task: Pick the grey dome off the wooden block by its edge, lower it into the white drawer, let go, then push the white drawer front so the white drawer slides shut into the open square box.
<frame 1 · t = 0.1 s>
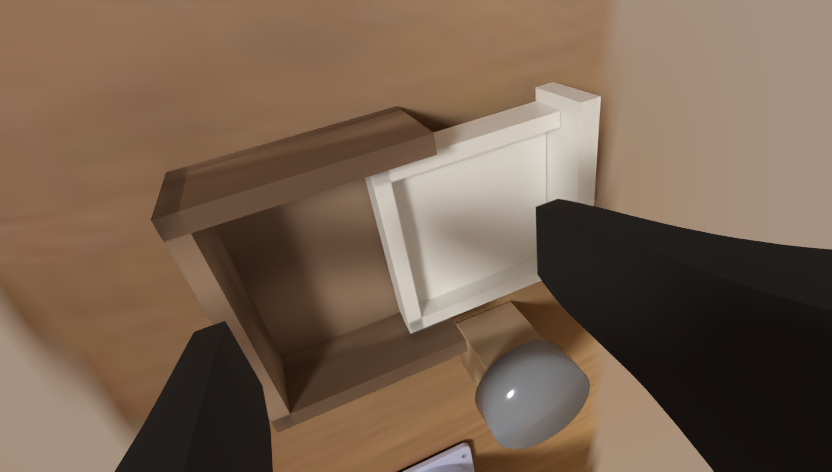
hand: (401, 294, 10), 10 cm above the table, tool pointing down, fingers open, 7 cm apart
white drawer: (493, 221, 20), point 2 cm above the table, slide at 6.0 cm
wooden block: (486, 333, 27), on the table
open square box: (335, 247, 20), on the table
grey dome: (521, 381, 24), point 4 cm above the table, touching wooden block
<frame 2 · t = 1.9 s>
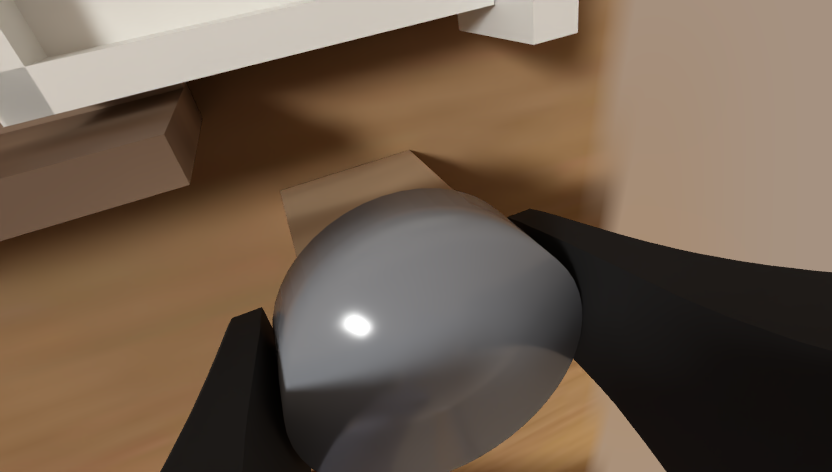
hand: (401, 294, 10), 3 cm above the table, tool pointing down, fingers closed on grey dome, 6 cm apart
wooden block: (362, 226, 13), on the table
grey dome: (410, 310, 9), point 4 cm above the table, touching gripper, wooden block
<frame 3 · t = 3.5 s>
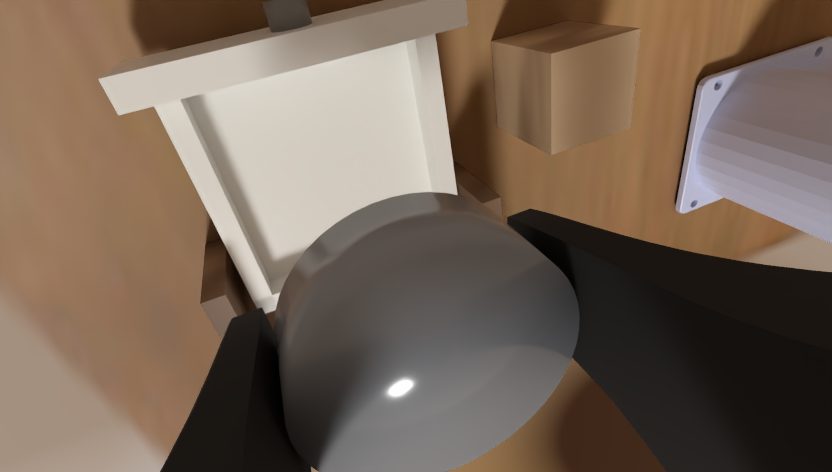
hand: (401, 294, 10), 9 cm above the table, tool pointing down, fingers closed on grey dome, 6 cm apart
white drawer: (331, 159, 15), point 2 cm above the table, slide at 6.0 cm
wooden block: (531, 75, 19), on the table
open square box: (362, 276, 21), on the table
grey dome: (409, 312, 9), point 10 cm above the table, touching gripper
when the fingers open (3 cm above the table, at t = 5.0 s): grey dome drops 2 cm, resting on white drawer.
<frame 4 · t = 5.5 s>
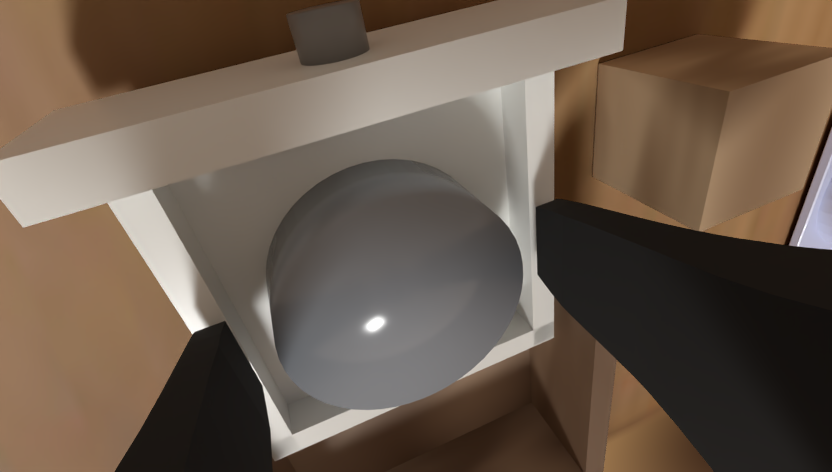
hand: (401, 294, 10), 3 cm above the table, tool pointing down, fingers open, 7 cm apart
white drawer: (384, 248, 10), point 2 cm above the table, slide at 6.0 cm, touching grey dome
wooden block: (642, 108, 14), on the table
open square box: (405, 371, 16), on the table
grey dome: (382, 265, 11), point 2 cm above the table, touching white drawer
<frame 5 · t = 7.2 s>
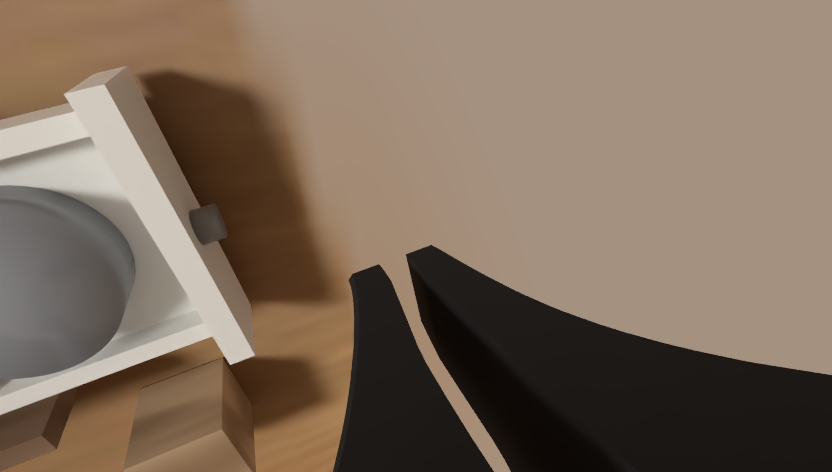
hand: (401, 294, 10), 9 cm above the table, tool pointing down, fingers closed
white drawer: (58, 269, 14), point 2 cm above the table, slide at 6.0 cm, touching grey dome
wooden block: (199, 397, 21), on the table
grey dome: (32, 267, 14), point 2 cm above the table, touching white drawer
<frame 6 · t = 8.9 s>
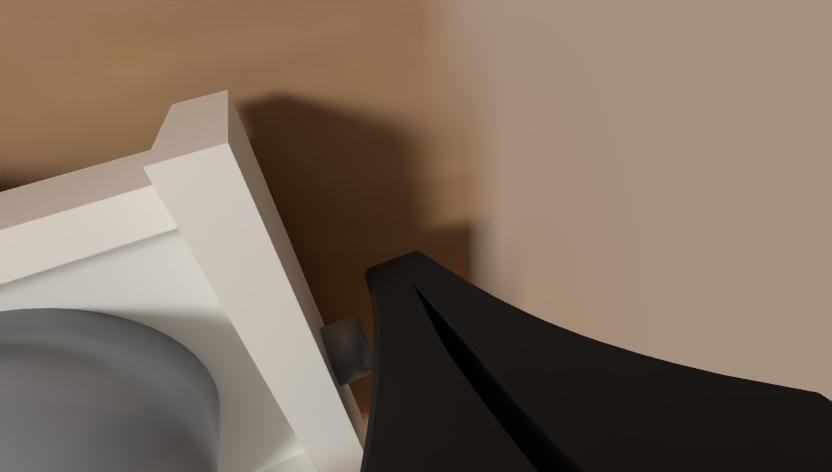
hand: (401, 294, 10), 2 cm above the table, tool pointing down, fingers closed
white drawer: (103, 440, 8), point 2 cm above the table, slide at 5.2 cm, touching grey dome, gripper
grey dome: (57, 429, 8), point 2 cm above the table, touching white drawer
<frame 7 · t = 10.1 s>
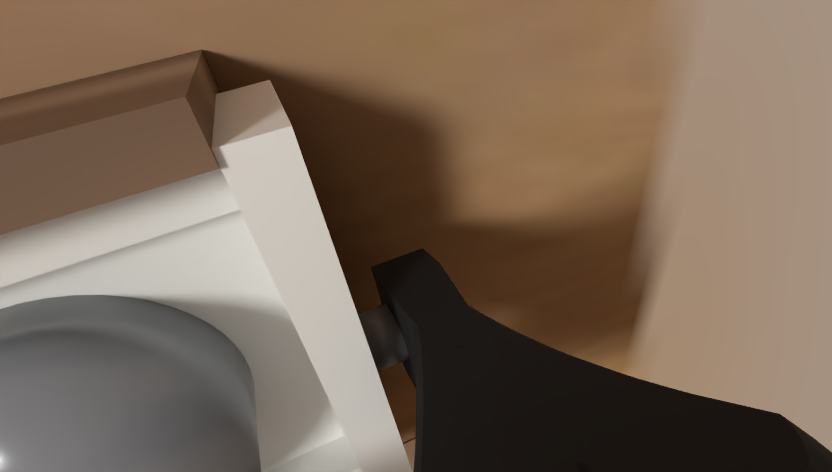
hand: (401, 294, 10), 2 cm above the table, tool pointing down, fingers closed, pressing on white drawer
white drawer: (145, 426, 8), point 2 cm above the table, slide at -0.1 cm, touching open square box, grey dome, gripper
open square box: (120, 355, 10), on the table
grey dome: (98, 416, 8), point 2 cm above the table, touching white drawer
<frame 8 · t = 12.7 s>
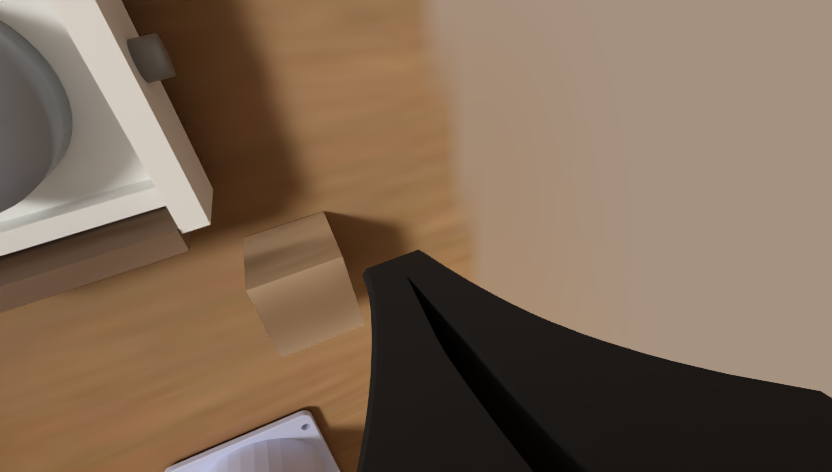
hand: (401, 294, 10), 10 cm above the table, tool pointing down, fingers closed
wooden block: (297, 256, 20), on the table
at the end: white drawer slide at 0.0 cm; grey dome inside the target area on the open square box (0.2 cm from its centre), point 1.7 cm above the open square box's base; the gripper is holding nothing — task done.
